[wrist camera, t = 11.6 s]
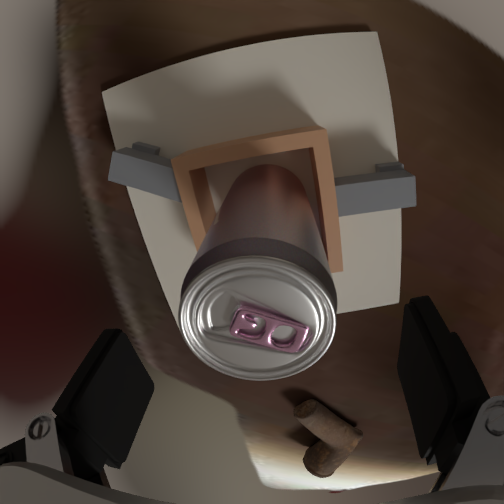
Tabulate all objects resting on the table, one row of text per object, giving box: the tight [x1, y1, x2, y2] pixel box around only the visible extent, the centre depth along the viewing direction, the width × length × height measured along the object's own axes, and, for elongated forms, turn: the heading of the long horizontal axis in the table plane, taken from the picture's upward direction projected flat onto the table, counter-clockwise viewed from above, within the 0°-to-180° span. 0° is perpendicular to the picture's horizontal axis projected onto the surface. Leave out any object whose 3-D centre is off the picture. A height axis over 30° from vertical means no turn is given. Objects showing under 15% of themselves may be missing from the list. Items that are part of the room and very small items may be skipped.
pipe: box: [294, 399, 363, 478], centre depth 37 cm, size 6×17×10 cm
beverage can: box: [178, 164, 337, 380], centre depth 17 cm, size 6×6×15 cm
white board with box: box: [102, 32, 416, 329], centre depth 22 cm, size 22×24×5 cm
